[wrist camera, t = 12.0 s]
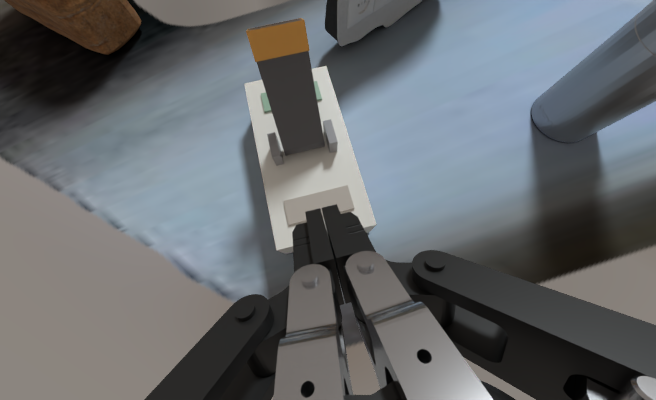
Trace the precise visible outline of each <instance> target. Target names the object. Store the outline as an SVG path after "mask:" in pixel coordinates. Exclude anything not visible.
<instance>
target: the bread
mask: <svg viewBox="0 0 656 400" xmlns="http://www.w3.org/2000/svg"><path fill="white" fill-rule="evenodd" d="M5 1H6V2H7V3H8V4H10V5H11V6H12V7H14V8H15V9H16V10H18V11H19V12H20V13H22V14H24V15H26V16H29V17H31V18H32V19H34V20H36V21H38V22H39V23H41V24H43V25H44V26H46V27H48V28H49V29H51V30H53V31H55V32H57V33H59V34H61V35H63V36H65V37H67V38H69V39H71V40H72V41H74V42H76V43H78V44H80V45H81V46H83V47H85V48H87V49H89V50H92V51H95V52H98V53H102V54H106V55H109V54H111V53H113V52H115V51H117V50H118V49H120V48H121V47H122V46H123V45H125V44H126V43H127V42H128V41H129V40H130V39H131V38H132V37H133V36H134V34H135V33H136V32H137V30H138V29H139V27H140V25H141V19H140V18H139V16H138V14H137V13H136V11H135V10H134V9H133V7H132V6H131V5H130V4H129V2H128V1H127V0H5Z"/></svg>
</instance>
